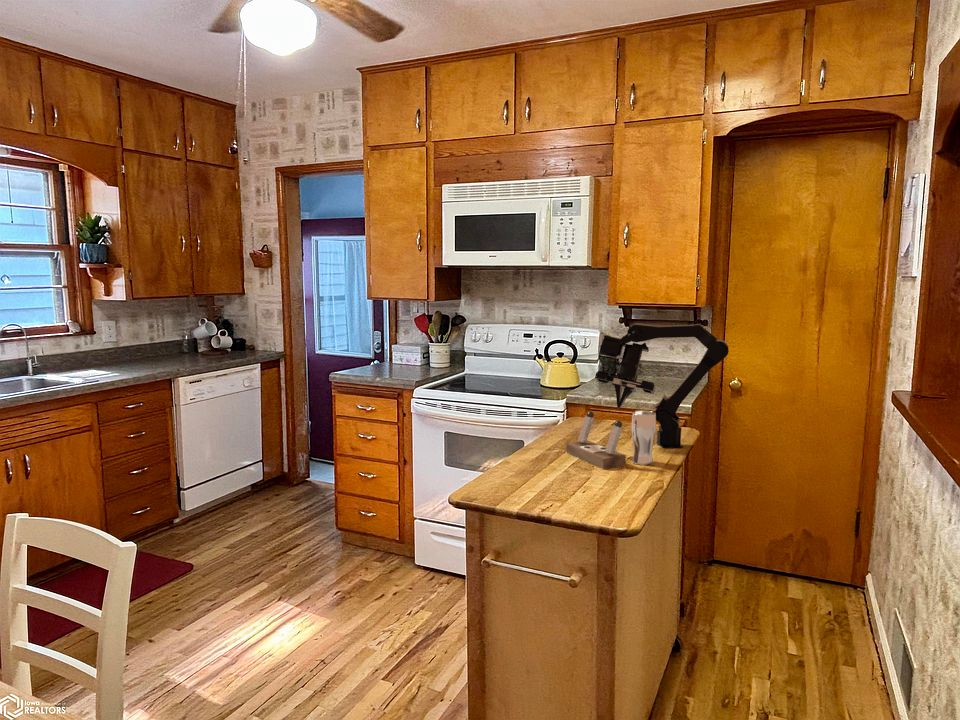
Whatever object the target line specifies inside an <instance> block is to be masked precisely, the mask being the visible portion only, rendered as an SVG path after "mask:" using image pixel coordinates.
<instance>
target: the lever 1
mask: <svg viewBox="0 0 960 720" xmlns="http://www.w3.org/2000/svg"><path fill="white" fill-rule="evenodd" d="M594 416H595V414H594V412H593V411H587V413H586V415H585V416H584V418H583V421H582V425H581V428H580V431H579V435H578V437H577V442H579V441H581V442H583V443H586V441H587V440H588V438H589V435H590V431H591V428H592V426H593V422H594Z"/></svg>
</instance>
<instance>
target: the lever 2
mask: <svg viewBox="0 0 960 720" xmlns="http://www.w3.org/2000/svg"><path fill="white" fill-rule="evenodd" d="M622 431H623V422H622V421H621V420H615V422H614V425H612V427H611V431H610V434H609V437H608V440H607V443H606V449H605V452H608V453H610V454H614V453H615V451H616V450H617V446H618V443H619V440H620V437H621V433H622Z"/></svg>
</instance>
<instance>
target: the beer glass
mask: <svg viewBox="0 0 960 720" xmlns="http://www.w3.org/2000/svg"><path fill="white" fill-rule="evenodd" d="M656 434H657V421H656V413H655V411H651V410H644V409H643V410H641V409H640V410H634V411H632V417H631V436H632V437H631V438H632V445H633V455H632V459H631V462H632V463H633V464H634V463H635V465H638V464H641V465H640V466H648V465H647V464H651V465H653V464H654V458H653V449H654V448H653V447H654V443H655V438H656ZM652 463H653V464H652Z"/></svg>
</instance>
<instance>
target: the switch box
mask: <svg viewBox="0 0 960 720" xmlns="http://www.w3.org/2000/svg"><path fill="white" fill-rule="evenodd" d="M605 449H606V447H605V446H603V445H601V444H598V443H596V442H593V441H591V440H589V439H587V441H586V443H583V442H581V441H572V442H566V447H565V453H566V452H567V454H568V453H569V454H568V455H570V454H571V455H570V456H572V457H575V456H576V457H575V458H577V457H578V458H577V459H579V458H580V459H579V460H582V461H584V462H586V463H589V464H590V465H593V466H595V467H598V468H600V469H602V470H606V469H610V468H611V469H612V468H619V467H625V466H626V465H627V464H626V463H627V462H626V461H627V460H626V459H627V455H626V454H624V453H622V452H621V453H620V452H618V451H616V450H615V453H614V454H610V453H608V452H605Z"/></svg>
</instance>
